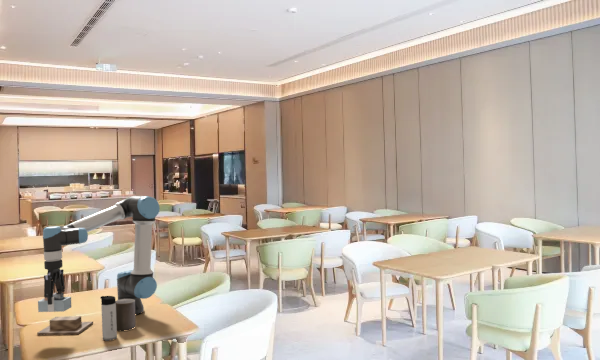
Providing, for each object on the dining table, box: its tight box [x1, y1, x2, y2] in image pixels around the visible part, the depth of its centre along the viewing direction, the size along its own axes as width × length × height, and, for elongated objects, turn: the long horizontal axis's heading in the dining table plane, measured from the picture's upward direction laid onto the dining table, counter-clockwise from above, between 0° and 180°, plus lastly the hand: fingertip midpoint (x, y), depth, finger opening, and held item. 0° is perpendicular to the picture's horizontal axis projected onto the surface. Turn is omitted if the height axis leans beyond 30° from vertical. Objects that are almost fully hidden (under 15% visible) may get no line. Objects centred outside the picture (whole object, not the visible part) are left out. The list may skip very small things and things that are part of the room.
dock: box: [36, 315, 94, 336], centre depth 245 cm, size 20×16×6 cm
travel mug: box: [100, 295, 118, 342], centre depth 229 cm, size 6×7×20 cm
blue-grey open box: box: [37, 296, 72, 313], centre depth 229 cm, size 12×7×5 cm, turn 87°
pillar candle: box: [115, 299, 136, 332], centre depth 244 cm, size 10×10×15 cm
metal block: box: [53, 291, 65, 300], centre depth 230 cm, size 4×4×4 cm
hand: (55, 308), depth 229 cm, fingers closed on blue-grey open box, 7 cm apart
